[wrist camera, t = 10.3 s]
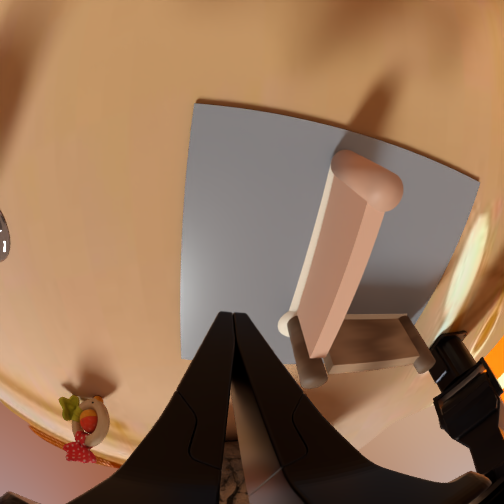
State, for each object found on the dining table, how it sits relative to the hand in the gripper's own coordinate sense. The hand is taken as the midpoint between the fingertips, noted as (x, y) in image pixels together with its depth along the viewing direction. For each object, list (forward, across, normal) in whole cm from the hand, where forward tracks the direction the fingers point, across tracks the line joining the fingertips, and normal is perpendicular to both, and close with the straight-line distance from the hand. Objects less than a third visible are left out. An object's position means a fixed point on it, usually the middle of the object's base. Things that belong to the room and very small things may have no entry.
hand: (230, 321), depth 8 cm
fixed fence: (+11, -13, +10) cm, 20 cm away
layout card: (+11, -9, +5) cm, 15 cm away
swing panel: (+10, -7, +2) cm, 12 cm away
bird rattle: (+11, +17, +30) cm, 36 cm away
